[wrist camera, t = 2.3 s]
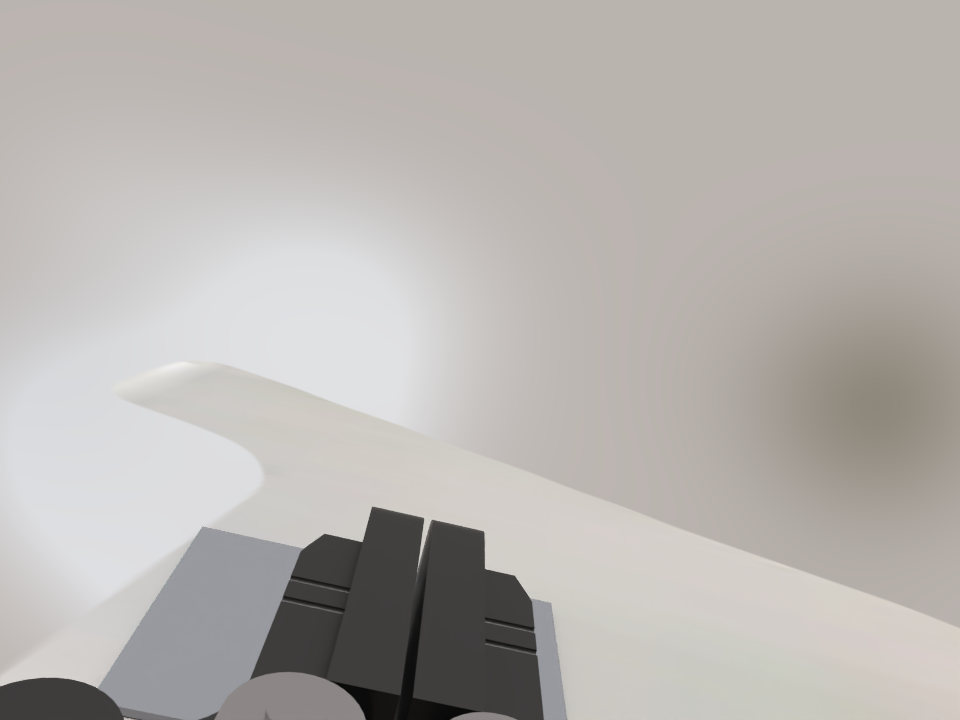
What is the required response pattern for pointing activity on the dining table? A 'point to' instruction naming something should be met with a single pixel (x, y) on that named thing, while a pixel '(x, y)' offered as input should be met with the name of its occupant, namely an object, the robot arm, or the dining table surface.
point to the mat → (236, 632)
